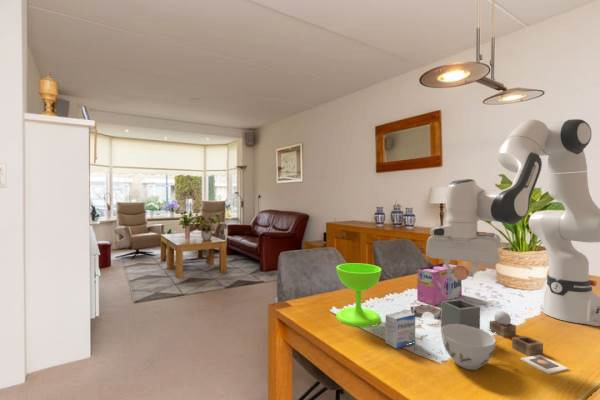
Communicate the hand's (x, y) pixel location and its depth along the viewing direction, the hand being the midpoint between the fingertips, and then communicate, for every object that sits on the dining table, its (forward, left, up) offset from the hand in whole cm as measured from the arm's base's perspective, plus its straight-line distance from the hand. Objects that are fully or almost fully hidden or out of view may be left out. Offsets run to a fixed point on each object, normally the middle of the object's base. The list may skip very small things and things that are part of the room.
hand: (460, 275), depth 96 cm
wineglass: (+24, -22, -19) cm, 38 cm away
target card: (-8, +19, -19) cm, 29 cm away
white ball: (-15, +2, -15) cm, 21 cm away
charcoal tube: (0, 0, -19) cm, 19 cm away
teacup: (+10, +14, -19) cm, 26 cm away
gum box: (-21, -32, -20) cm, 43 cm away
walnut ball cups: (-13, +7, -19) cm, 24 cm away
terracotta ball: (0, 0, +1) cm, 1 cm away
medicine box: (+21, -1, -20) cm, 29 cm away
